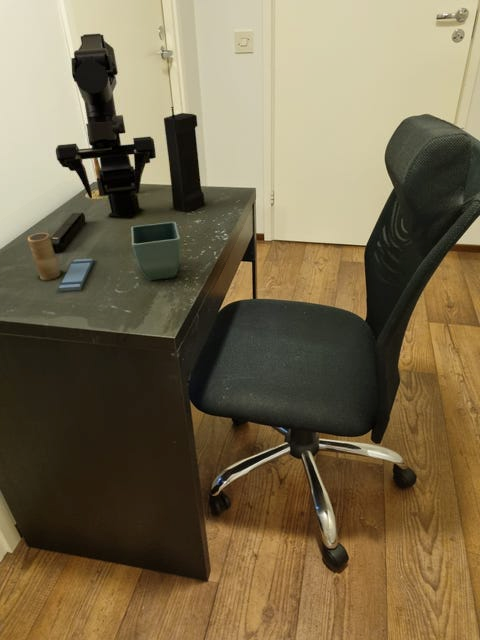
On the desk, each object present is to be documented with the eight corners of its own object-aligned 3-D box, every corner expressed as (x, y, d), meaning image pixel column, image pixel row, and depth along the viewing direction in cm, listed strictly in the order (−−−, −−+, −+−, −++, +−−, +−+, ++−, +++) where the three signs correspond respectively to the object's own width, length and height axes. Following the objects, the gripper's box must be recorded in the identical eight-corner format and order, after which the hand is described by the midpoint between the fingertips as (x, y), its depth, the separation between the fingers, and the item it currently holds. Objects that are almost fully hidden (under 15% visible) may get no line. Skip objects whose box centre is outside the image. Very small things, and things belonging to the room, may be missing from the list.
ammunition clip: (99, 195, 136) (90, 153, 129) (100, 193, 137) (91, 151, 131) (136, 193, 136) (128, 150, 129) (137, 191, 138) (129, 149, 131)
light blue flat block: (59, 291, 90) (58, 287, 90) (74, 263, 100) (73, 259, 100) (80, 290, 90) (79, 286, 90) (93, 261, 100) (92, 258, 100)
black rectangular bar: (76, 222, 120) (73, 211, 118) (86, 221, 119) (83, 210, 118) (51, 253, 105) (47, 240, 103) (62, 252, 105) (58, 240, 103)
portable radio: (190, 199, 129) (180, 101, 115) (207, 203, 126) (198, 102, 112) (171, 208, 124) (157, 106, 110) (188, 212, 121) (176, 108, 107)
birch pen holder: (36, 279, 95) (23, 240, 90) (48, 269, 98) (36, 231, 93) (52, 281, 94) (40, 241, 89) (64, 271, 97) (53, 233, 92)
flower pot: (185, 280, 91) (180, 238, 86) (140, 287, 90) (131, 244, 85) (180, 261, 98) (175, 220, 93) (138, 267, 97) (130, 226, 92)
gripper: (42, 103, 83) (56, 191, 84) (147, 94, 86) (160, 179, 87) (56, 126, 94) (69, 204, 95) (149, 118, 97) (161, 193, 98)
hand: (114, 195), depth 94 cm, fingers open, 9 cm apart
